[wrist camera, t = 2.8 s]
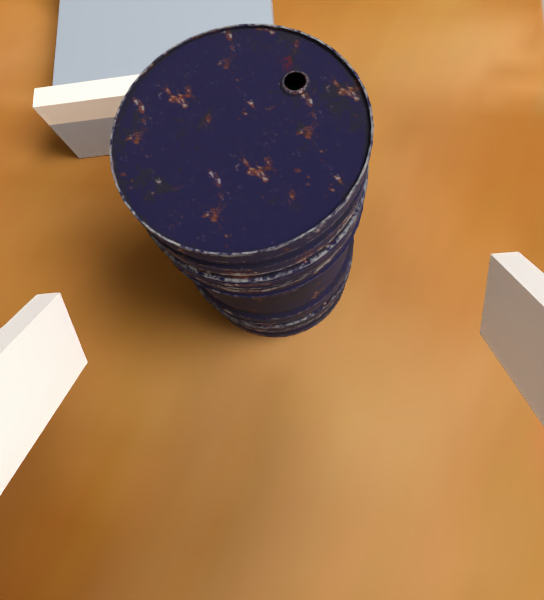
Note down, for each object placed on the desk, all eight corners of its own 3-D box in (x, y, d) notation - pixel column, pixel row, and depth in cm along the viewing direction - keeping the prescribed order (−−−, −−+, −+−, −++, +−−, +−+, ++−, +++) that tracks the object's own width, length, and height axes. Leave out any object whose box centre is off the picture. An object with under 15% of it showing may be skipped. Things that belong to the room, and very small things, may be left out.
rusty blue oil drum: (272, 370, 28) (223, 319, 14) (177, 268, 31) (55, 137, 17) (380, 267, 29) (438, 122, 15) (280, 177, 32) (248, -20, 18)
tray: (79, 158, 34) (32, 107, 29) (89, -1, 39) (50, -72, 33) (283, 133, 33) (276, 75, 27) (269, -28, 37) (261, -107, 32)
